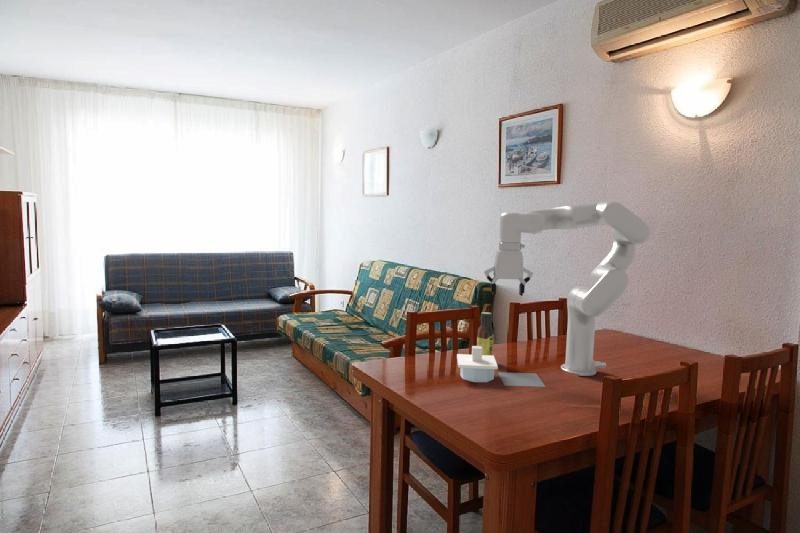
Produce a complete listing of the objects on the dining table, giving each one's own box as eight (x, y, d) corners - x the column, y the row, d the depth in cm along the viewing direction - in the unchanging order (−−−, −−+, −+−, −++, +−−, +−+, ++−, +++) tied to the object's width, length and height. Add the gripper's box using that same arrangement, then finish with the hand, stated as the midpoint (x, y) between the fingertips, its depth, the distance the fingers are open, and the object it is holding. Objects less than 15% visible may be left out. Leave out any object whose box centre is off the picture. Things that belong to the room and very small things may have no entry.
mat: (535, 375, 189) (536, 373, 189) (545, 389, 175) (545, 386, 175) (497, 374, 189) (497, 372, 189) (504, 387, 175) (504, 385, 175)
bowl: (487, 374, 189) (488, 358, 189) (496, 384, 179) (497, 367, 178) (458, 374, 188) (458, 358, 188) (464, 384, 178) (465, 367, 177)
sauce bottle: (492, 367, 198) (494, 315, 195) (475, 366, 199) (477, 314, 197) (492, 362, 204) (495, 311, 202) (476, 361, 205) (478, 310, 203)
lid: (493, 358, 189) (494, 343, 188) (497, 369, 176) (498, 353, 175) (456, 356, 190) (457, 341, 189) (458, 367, 177) (459, 351, 176)
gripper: (531, 247, 192) (529, 293, 194) (483, 245, 192) (481, 292, 194) (536, 248, 184) (533, 297, 186) (486, 247, 185) (484, 295, 187)
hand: (507, 294), depth 190 cm, fingers open, 9 cm apart
